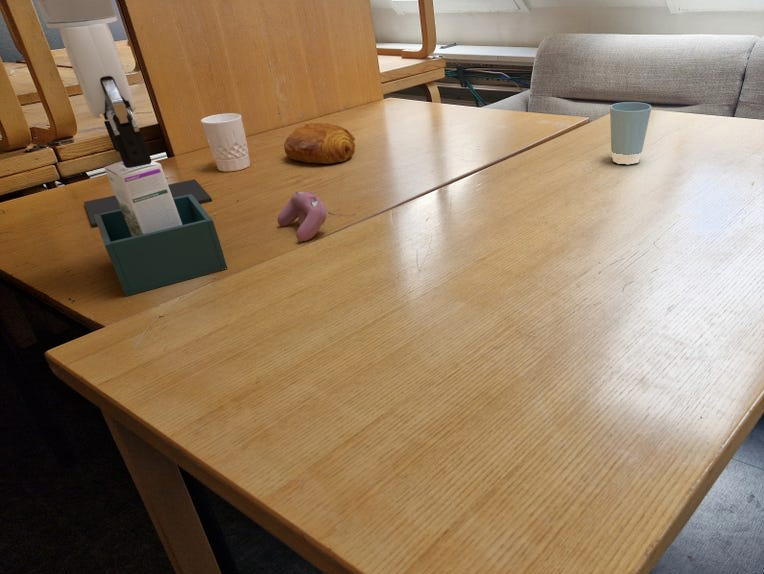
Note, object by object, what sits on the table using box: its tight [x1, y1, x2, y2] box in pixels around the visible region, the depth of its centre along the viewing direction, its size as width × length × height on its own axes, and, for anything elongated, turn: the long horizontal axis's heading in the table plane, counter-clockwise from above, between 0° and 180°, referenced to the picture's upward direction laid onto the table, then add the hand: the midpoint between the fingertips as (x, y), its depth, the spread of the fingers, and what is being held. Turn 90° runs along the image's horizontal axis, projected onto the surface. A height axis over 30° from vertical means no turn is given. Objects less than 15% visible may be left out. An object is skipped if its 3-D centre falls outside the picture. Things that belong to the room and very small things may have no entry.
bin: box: [94, 194, 228, 297], centre depth 89 cm, size 14×14×8 cm
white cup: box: [200, 113, 252, 173], centre depth 128 cm, size 8×8×10 cm
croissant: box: [283, 122, 356, 165], centre depth 133 cm, size 14×16×8 cm
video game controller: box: [277, 191, 328, 243], centre depth 99 cm, size 10×5×7 cm, turn 35°
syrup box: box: [104, 159, 182, 237], centre depth 86 cm, size 6×6×14 cm
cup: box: [609, 101, 652, 155], centre depth 120 cm, size 8×8×10 cm
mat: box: [83, 178, 213, 228], centre depth 114 cm, size 20×14×1 cm
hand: (133, 157), depth 82 cm, fingers open, 9 cm apart
